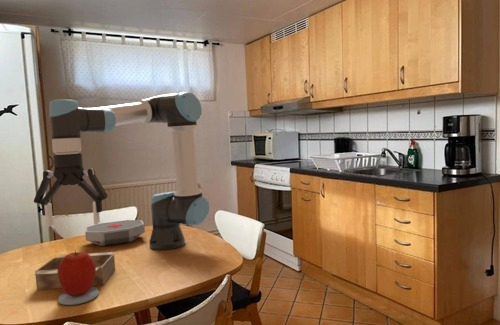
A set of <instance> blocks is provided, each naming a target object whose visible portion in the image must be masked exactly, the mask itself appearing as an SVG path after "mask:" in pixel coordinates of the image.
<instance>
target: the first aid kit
mask: <svg viewBox="0 0 500 325" xmlns="http://www.w3.org/2000/svg"><path fill="white" fill-rule="evenodd" d="M84 230H85V232H84V234H85V241H87V242H90V243H92V244H95V245H97V246H99V247H104V246H109V245H110V246H111V245H117V244H124V243H132V242H133V241H135V240H136V239H137V238H139V237H140V236H142V235H143V234H145V232H146V230H145V223H144V221H143V220H142V219H125V220H118V221H117V220H115V221H109V222H108V221H107V222H99V223H98V224H93V225H89V226H86V227H85V228H84Z"/></svg>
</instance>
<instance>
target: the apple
mask: <svg viewBox="0 0 500 325" xmlns="http://www.w3.org/2000/svg"><path fill="white" fill-rule="evenodd" d="M88 254H89V253H88V252H83V251H81V252H80V251H79V252H77V251H76V250H74V252H71V253H68V254H65V255H66V256H65V257H64V258H63V259H62V261H61V262H60V264H59V267H58V276H59V281H60V284H61V286H62V288H61V289H62V290H63V293H66V294H68V295H71V296H80V295H83V294H85V293H86V292H87V291H89V290H90V289H91V287H93V286H92V285H93V281H94V278H95V273H96V264H95V262H94V260H93V259H92V257H91V256H90V255H88Z"/></svg>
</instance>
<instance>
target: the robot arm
mask: <svg viewBox="0 0 500 325" xmlns="http://www.w3.org/2000/svg"><path fill="white" fill-rule="evenodd" d="M48 109H49V110H48V111H49V114H48V117H49V121H50V132H51V143H52V144H51V145H52V147H51V148H52V153H54V155H53V158H52V159H53V167H54V171H51V170H44V171H43V172H42V181H41V182H40V184H39V187H38V190H37V192H36V194H35V195H34V196H35V197H34V199H33V202H34V204H39V205H40V206H41V215H42V216H45V226H46V228H49V227H51V226H53V225H54V217H53V208H52V206H53V205H52V203H50V201H51V200H52V198H53V197H54V195H56V193H57V192H58V190H59V189H60V188H61V187H62V186H69V185H70V186H75V185H78V187H80V188H82V190H83V191H84V192H85V193H87V195H89V196H90V198H91V199H92V200H93V202H92V213H93V215H92V216H93V225H96V224H100V223H101V219H100V213H101V212H102V211H103V200H106V199H107V198H108V193H107V192H106V190H105V189H104V187H103V185H102V184H101V182H100V180H99V179H98V176H97V175H96V171H95V169H94V168H93V167H92V168H88V169H84V166H83V165H84V161H83V154H82V153H81V152H82V139H81V134H82V133H83V134H84V133H85V134H86V133H87V134H88V133H105V132H106V133H108V132H112V131H113V130H114V128H115V127H117V126H122V125H128V124H136V123H142V124H149V123H154V124H155V123H157V124H159V123H162V124H167V128H168V129H169V131H171V135H172V148H173V158H174V170H175V171H174V172H175V181H176V182H175V183H176V191H175V190H173V191H166V192H160V193H156V194H153V195H152V196H151V199H150V201H151V202H150V209H151V210H150V211H151V222H152V229H151V235H150V238H149V243H148V244H149V248H151V249H152V250H158V251H163V250H164V251H167V250H173V249H177V248H180V247H182V246H184V245H185V244H186V240H185V238H186V237H185V234H184V233H183V230H182V228H181V224H182V225H187V226H199V225H201V224H202V223H204V222H205V220H206V219H207V217H208V215H209V212H210V204H209V200H207V198H206V197H204V196H203V190H202V189H200V188H199V186H198V185H199V182H198V173H197V158H196V146H195V136H194V134H195V133H194V130H195V128H196V127H197V121H199V120H200V118H201V116H202V109H203V108H202V105H201V102H200V100H199V99H198V97H197V96H196V95H195V94H194V93H192V92H189V91H179V92H174V93H165V94H160V95H155V96H152V97H149V98H143V99H139V100H137V101H136V102H131V103H123V104H115V105H106V106H97V107H80V105H79V103H78V101H77V100H75V99H66V98H65V99H61V98H60V99H53V100H51V101H50V102H49V108H48ZM84 176H86V177H88V178H89V181H90V183H91V184H92V186H93V187H92V186H91V185H90V184H88V183H87V180H85V179H84V178H83V177H84ZM53 177H54V178H55V179H56V180H55V181H54V183H53V184H52V186H51V187H50V189H49V190H48V191H47V189H48V186H49V185H50V183H51V180H52V179H53ZM93 188H95V189H93Z"/></svg>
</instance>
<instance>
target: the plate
mask: <svg viewBox="0 0 500 325" xmlns="http://www.w3.org/2000/svg"><path fill="white" fill-rule="evenodd" d="M97 296H99V289H98V288H97V287H95V286H92V287H91V289H90V290H89V291H87V292H86V293H85V294H83V295H80V296H71V295H68V294H66V293H65V292H63V293H61V294H60V295H59V296H58V299H57V300H58V303H59V304H60V305H63V306H74V305H81V304H84V303H87V302H89V301H92V300H93V299H95V298H96V297H97Z"/></svg>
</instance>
